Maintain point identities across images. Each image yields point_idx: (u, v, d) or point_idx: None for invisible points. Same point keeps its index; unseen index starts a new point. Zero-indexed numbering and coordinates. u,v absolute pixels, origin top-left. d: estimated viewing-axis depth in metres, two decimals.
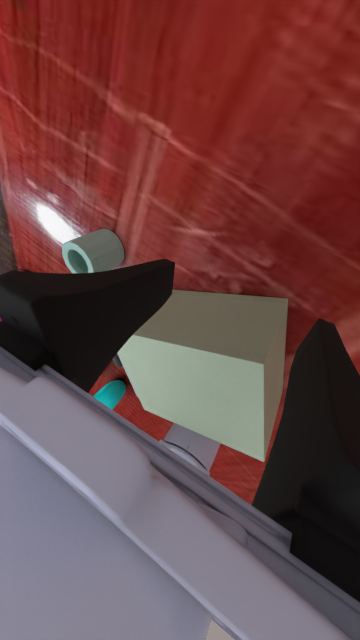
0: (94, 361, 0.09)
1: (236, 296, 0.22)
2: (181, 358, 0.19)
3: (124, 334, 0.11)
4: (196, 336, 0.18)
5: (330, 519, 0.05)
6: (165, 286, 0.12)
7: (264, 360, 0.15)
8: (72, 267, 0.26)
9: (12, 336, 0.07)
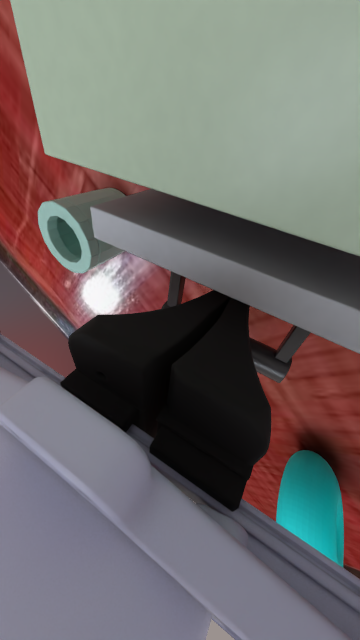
0: None
1: None
2: None
3: None
4: None
5: (178, 423, 0.06)
6: None
7: None
8: (74, 262, 0.15)
9: (93, 391, 0.06)
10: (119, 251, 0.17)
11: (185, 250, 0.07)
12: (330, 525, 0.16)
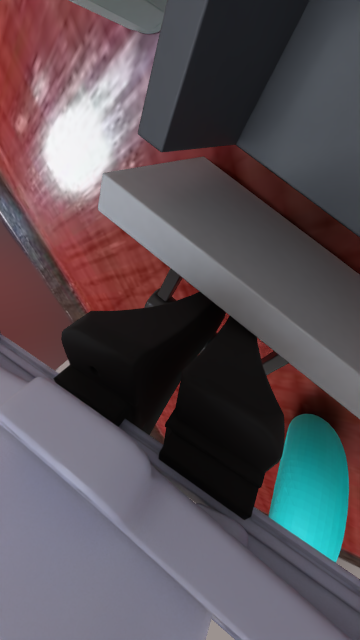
0: (160, 402, 0.08)
1: None
2: None
3: (185, 367, 0.10)
4: None
5: (188, 429, 0.06)
6: (223, 311, 0.11)
7: None
8: None
9: (86, 386, 0.06)
10: None
11: (209, 265, 0.06)
12: (346, 503, 0.12)
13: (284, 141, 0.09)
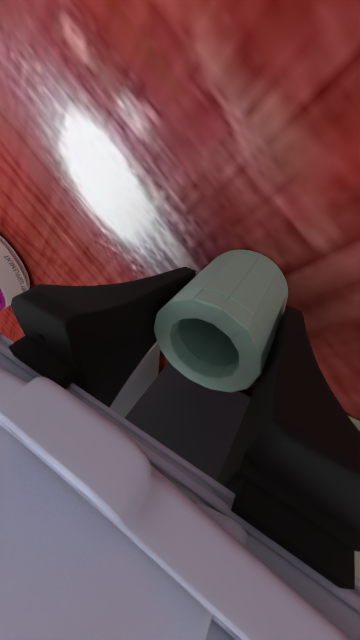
0: (117, 375, 0.09)
1: None
2: None
3: (145, 346, 0.10)
4: None
5: (266, 478, 0.05)
6: None
7: None
8: (170, 343, 0.10)
9: (37, 353, 0.07)
10: None
11: None
12: None
13: None
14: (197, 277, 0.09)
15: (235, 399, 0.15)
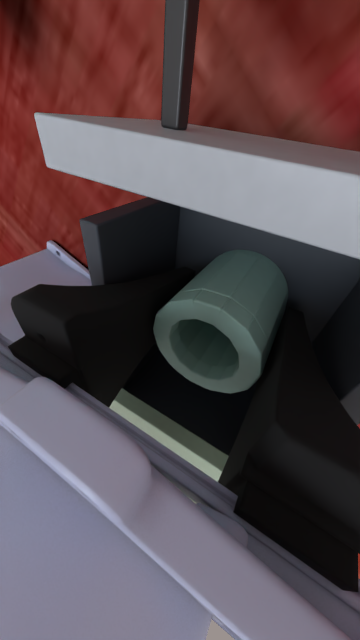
0: (117, 375, 0.09)
1: None
2: None
3: (145, 345, 0.10)
4: None
5: (269, 480, 0.05)
6: None
7: None
8: (170, 343, 0.10)
9: (37, 353, 0.07)
10: None
11: (312, 233, 0.04)
12: None
13: (321, 258, 0.09)
14: (197, 277, 0.09)
15: None
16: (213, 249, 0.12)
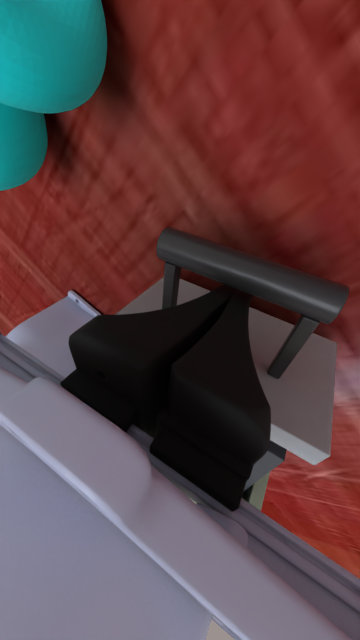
0: None
1: None
2: None
3: None
4: None
5: (178, 423, 0.06)
6: None
7: None
8: None
9: (93, 391, 0.06)
10: None
11: None
12: None
13: None
14: None
15: None
16: None
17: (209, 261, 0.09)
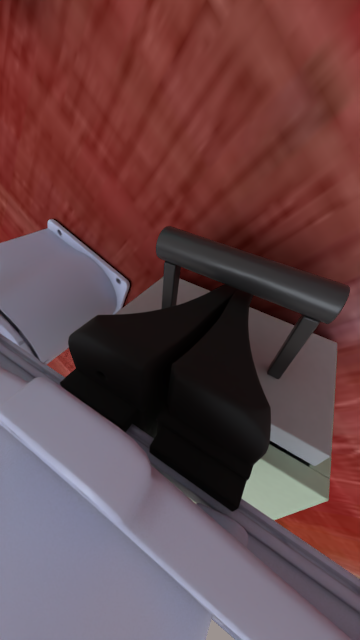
0: None
1: None
2: None
3: None
4: None
5: (178, 423, 0.06)
6: None
7: None
8: None
9: (93, 390, 0.06)
10: None
11: None
12: None
13: None
14: None
15: None
16: None
17: (209, 260, 0.09)
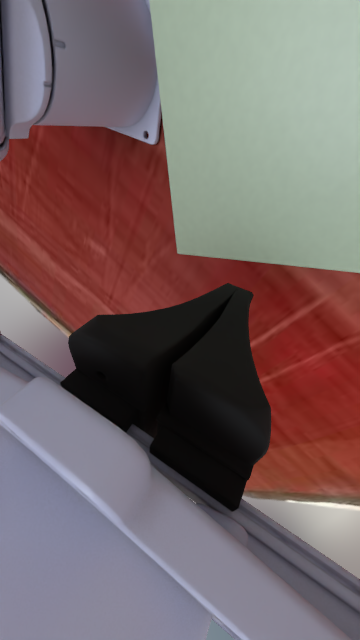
0: None
1: None
2: None
3: None
4: None
5: (178, 423, 0.06)
6: None
7: None
8: None
9: (93, 391, 0.06)
10: None
11: None
12: None
13: None
14: None
15: None
16: None
17: None
